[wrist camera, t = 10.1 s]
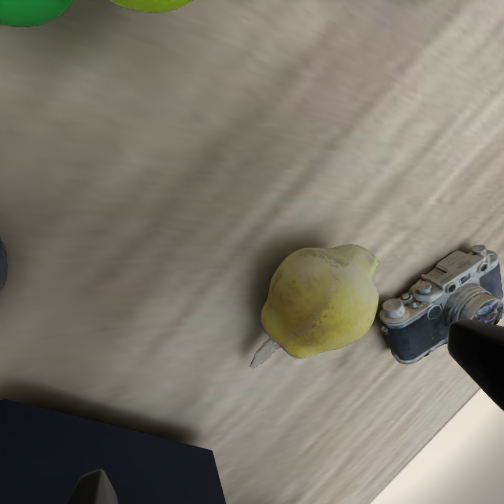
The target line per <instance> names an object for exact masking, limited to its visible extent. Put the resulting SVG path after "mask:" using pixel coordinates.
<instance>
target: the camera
mask: <svg viewBox="0 0 504 504" xmlns="http://www.w3.org/2000/svg"><path fill="white" fill-rule="evenodd" d="M435 267H436V268H434V269H433V270H432V271H431V272H429V273H428V274H426V275H424V274H422V275H421V279H420V280H419V281H418V282H417V283H416V284H415V285H413V286H412V287H411V288H410V289H409V292H408V293H405V294H403V295H401V296H400V298H398V299H389V300H387V301H385V302H384V303H383V309H382V311H381V312H380V314H379V316H380V319H381V323H382V328H381V331H382V333H383V334H385V335H386V338H387V341H388V344H389V346H390V349H391V353H392V355H393V356H394V357H395V358H396V360H397V361H398V362H399V363H402V364H411V363H415V362H418V361H419V360H420V359H422V357H426V356H428V355H429V352H432V351H434V350H435V349H436V348H437V347H439V346H442V345H444V344H447V343H448V331H449V325H450V324H451V323H453V322H455V321H457V320H460V319H464V318H466V319H471V320H475V321H480V322H484V323H489V324H493V325H496V324H497V323H498V322H499V320H500V319H501V318H502V317H503V314H504V304H503V302H502V301H501V299H502V298H503V291H502V284H501V274H500V266H499V257H498V255H497V254H496V253H495V252H494V251H493V252H492V251H489V250H486V247H485V246H484V245H478V246H474V247H473V248H472V252H470V253H468V254H465V253H463V252H461V251H454V252H452V253H450V254H449V255H448V256H447V257H446V258H444V259H443V260H442V261H440V262H438V263H437V265H436V266H435Z"/></svg>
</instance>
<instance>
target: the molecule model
mask: <svg viewBox="0 0 504 504" xmlns="http://www.w3.org/2000/svg"><path fill="white" fill-rule="evenodd" d="M110 1H112V2H114V3H116V4H118V5H120V6H122V7H125V8H128V9H131V10H134V11H140V12H148V13H159V12H166V11H171V10H174V9H177V8H180V7H182V6H184V5H186V4H188V3H189V2H191V1H193V0H110ZM72 2H73V0H0V24H1V25H6V26H12V27H30V26H36V25H40V24H44V23H46V22H49V21H51V20H53V19H55V18H56V17H58V16H59V15H61V14H62V13H63V12H64V11H65V10H66V9H67V8H68V7H69V6H70V4H71V3H72Z"/></svg>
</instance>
